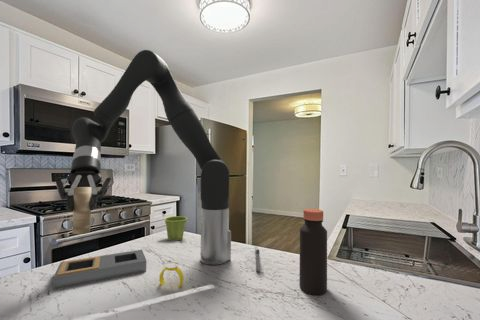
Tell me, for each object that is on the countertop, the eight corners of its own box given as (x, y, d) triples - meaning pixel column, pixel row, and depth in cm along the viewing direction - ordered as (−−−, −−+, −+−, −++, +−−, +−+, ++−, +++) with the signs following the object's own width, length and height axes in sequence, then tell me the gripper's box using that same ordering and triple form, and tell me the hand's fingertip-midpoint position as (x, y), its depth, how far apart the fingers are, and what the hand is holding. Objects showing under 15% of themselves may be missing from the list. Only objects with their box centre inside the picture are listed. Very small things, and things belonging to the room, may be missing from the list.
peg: (90, 229, 66) (91, 186, 66) (89, 232, 63) (91, 188, 63) (73, 231, 64) (74, 187, 64) (71, 234, 61) (72, 188, 61)
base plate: (141, 262, 75) (142, 248, 75) (146, 274, 66) (146, 259, 67) (60, 276, 65) (60, 261, 65) (52, 293, 56) (53, 276, 56)
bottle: (294, 284, 62) (294, 209, 62) (314, 280, 64) (314, 207, 65) (311, 298, 56) (311, 213, 56) (333, 292, 58) (333, 212, 59)
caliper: (259, 273, 69) (259, 251, 69) (255, 272, 69) (256, 251, 69) (257, 248, 89) (257, 232, 90) (254, 248, 89) (254, 232, 90)
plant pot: (166, 235, 103) (166, 216, 104) (187, 235, 104) (188, 216, 105) (161, 242, 94) (161, 221, 94) (185, 242, 95) (185, 220, 95)
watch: (183, 288, 60) (186, 265, 60) (179, 294, 57) (181, 270, 57) (162, 284, 61) (164, 261, 61) (156, 289, 58) (159, 265, 58)
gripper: (56, 153, 67) (45, 202, 56) (113, 155, 74) (112, 199, 63) (59, 171, 71) (49, 219, 60) (112, 171, 78) (111, 215, 67)
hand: (81, 208), depth 62 cm, fingers closed on peg, 4 cm apart
